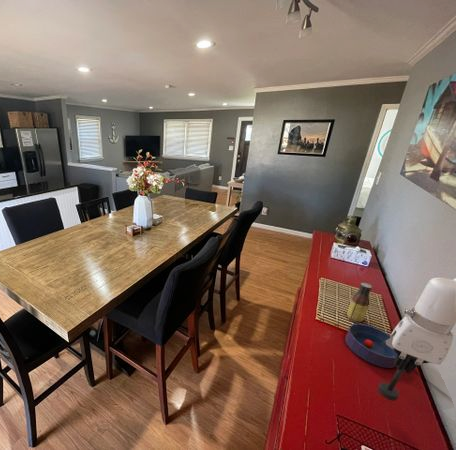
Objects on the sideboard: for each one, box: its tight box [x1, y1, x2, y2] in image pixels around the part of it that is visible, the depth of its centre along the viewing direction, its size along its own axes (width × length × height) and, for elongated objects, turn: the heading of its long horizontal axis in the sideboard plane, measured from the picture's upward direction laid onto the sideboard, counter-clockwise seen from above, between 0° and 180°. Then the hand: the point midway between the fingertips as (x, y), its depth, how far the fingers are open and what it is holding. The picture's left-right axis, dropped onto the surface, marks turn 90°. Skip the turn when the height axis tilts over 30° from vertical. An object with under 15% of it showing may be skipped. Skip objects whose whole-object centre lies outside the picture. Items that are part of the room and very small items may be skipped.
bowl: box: [344, 323, 398, 369], centre depth 99 cm, size 17×17×6 cm
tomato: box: [364, 340, 374, 348], centre depth 101 cm, size 3×3×3 cm
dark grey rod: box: [377, 354, 412, 402], centre depth 73 cm, size 5×5×17 cm
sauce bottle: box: [346, 282, 373, 323], centre depth 113 cm, size 7×6×20 cm
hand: (402, 367), depth 72 cm, fingers closed on dark grey rod, 1 cm apart
